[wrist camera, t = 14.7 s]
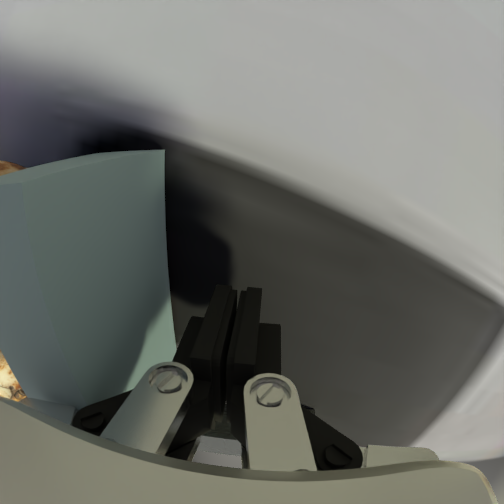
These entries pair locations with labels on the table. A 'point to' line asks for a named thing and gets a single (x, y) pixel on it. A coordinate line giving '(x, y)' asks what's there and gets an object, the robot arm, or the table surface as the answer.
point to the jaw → (85, 275)
